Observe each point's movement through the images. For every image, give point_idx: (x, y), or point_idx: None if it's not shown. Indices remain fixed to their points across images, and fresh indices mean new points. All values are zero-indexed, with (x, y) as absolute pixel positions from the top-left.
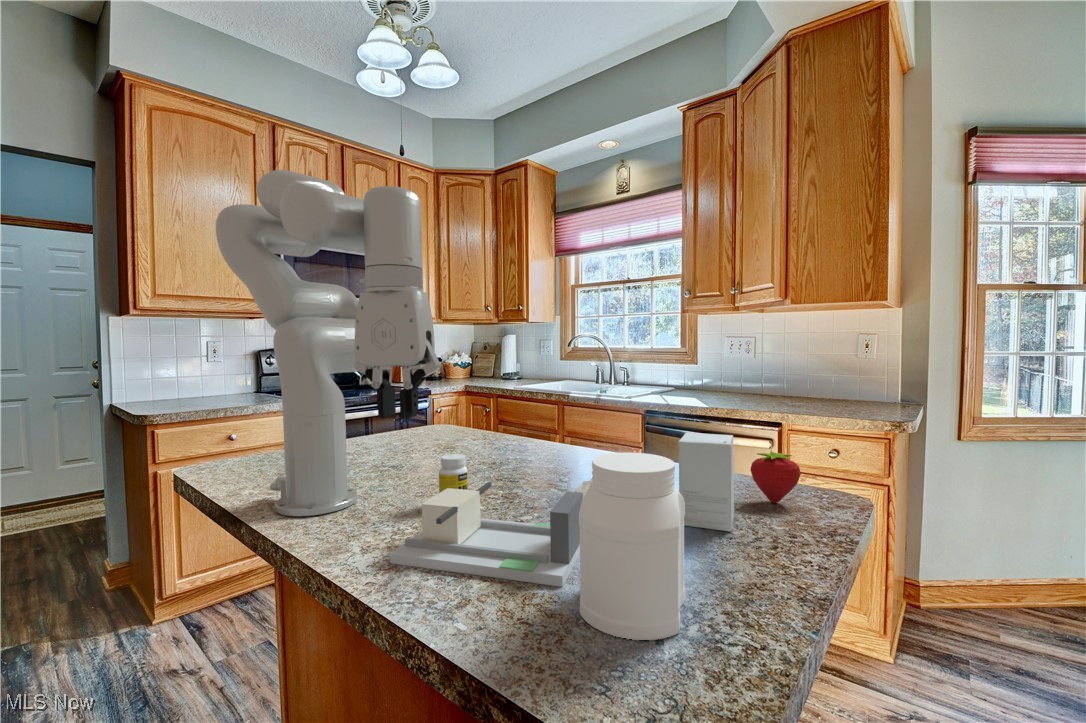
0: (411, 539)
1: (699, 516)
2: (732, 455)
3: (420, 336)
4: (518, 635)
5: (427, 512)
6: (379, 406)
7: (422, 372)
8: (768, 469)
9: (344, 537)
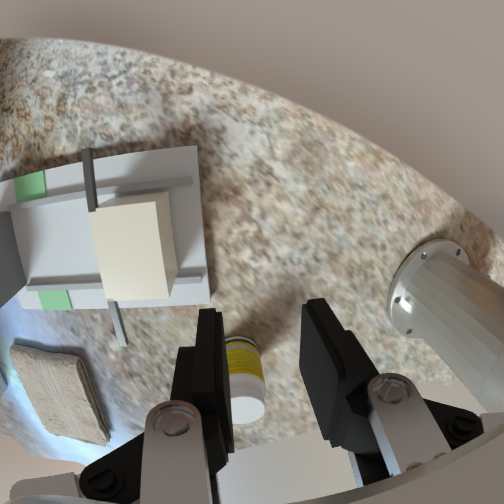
0: (181, 182)
1: None
2: None
3: None
4: (7, 91)
5: (147, 200)
6: (330, 320)
7: (82, 483)
8: None
9: (326, 200)
